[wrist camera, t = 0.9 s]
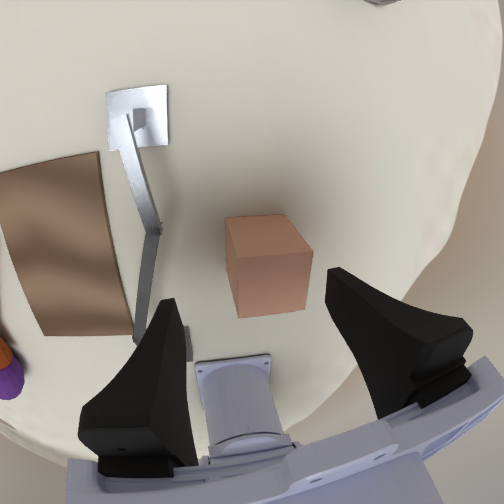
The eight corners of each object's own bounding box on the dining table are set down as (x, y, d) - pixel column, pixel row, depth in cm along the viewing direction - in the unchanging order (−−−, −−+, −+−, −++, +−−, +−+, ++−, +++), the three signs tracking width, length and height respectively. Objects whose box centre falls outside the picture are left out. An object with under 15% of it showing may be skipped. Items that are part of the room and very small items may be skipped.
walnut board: (135, 330, 25) (134, 334, 24) (46, 331, 23) (44, 336, 23) (98, 151, 17) (96, 153, 17) (-7, 174, 15) (-11, 176, 15)
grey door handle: (192, 355, 28) (196, 399, 23) (153, 357, 27) (152, 401, 22) (167, 85, 16) (158, 78, 12) (108, 93, 15) (81, 90, 11)
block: (280, 264, 25) (304, 309, 20) (226, 269, 24) (238, 318, 19) (283, 214, 22) (313, 251, 17) (225, 217, 22) (238, 257, 17)
